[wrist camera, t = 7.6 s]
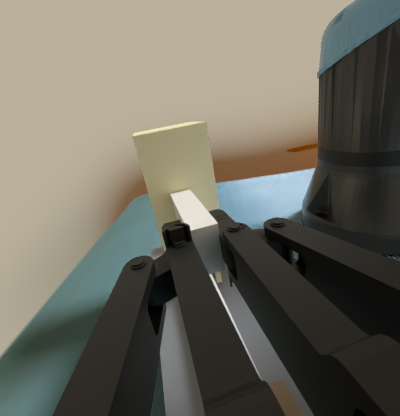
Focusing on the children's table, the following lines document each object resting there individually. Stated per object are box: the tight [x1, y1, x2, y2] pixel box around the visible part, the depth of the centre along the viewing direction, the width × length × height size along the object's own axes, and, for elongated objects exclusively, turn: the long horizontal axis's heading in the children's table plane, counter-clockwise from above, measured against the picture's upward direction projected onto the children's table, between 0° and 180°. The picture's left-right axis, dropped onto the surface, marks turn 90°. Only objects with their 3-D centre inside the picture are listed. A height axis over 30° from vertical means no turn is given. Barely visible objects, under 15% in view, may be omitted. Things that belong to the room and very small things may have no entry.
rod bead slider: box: [151, 246, 314, 416], centre depth 20 cm, size 22×9×5 cm, turn 14°
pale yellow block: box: [133, 122, 222, 283], centre depth 20 cm, size 5×5×14 cm
